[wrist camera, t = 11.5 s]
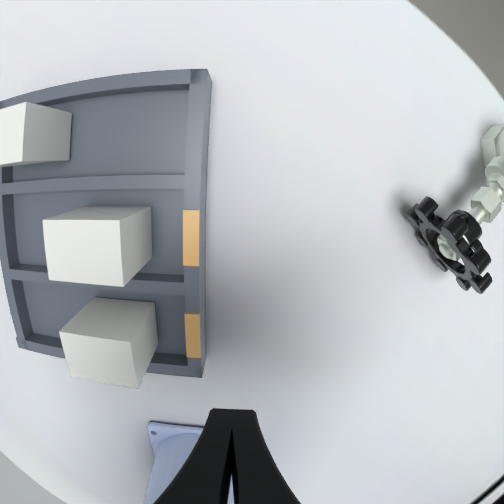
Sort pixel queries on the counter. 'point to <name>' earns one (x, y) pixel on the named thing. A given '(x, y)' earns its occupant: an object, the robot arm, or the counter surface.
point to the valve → (465, 221)
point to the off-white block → (98, 244)
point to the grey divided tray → (117, 194)
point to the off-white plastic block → (33, 134)
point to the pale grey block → (111, 341)
